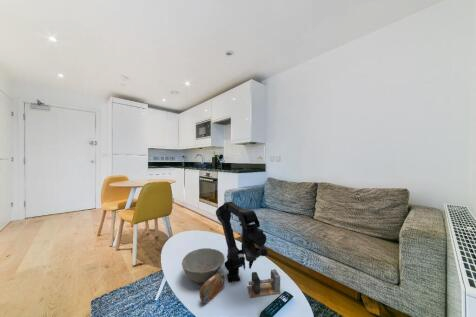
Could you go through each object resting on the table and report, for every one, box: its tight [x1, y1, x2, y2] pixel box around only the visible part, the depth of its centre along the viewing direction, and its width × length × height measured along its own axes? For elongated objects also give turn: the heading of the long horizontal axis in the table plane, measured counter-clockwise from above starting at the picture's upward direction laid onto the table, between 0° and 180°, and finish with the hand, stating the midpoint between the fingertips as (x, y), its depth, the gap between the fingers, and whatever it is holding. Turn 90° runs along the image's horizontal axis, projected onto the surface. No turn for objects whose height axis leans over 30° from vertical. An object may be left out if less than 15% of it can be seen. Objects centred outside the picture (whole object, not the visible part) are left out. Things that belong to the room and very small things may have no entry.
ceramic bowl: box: [181, 247, 226, 284], centre depth 101 cm, size 22×23×10 cm
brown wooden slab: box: [199, 272, 226, 304], centre depth 88 cm, size 15×3×8 cm, turn 144°
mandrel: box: [246, 269, 281, 299], centre depth 92 cm, size 7×15×8 cm, turn 102°
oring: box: [251, 271, 261, 294], centre depth 91 cm, size 6×2×6 cm, turn 12°
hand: (247, 268), depth 90 cm, fingers open, 2 cm apart
